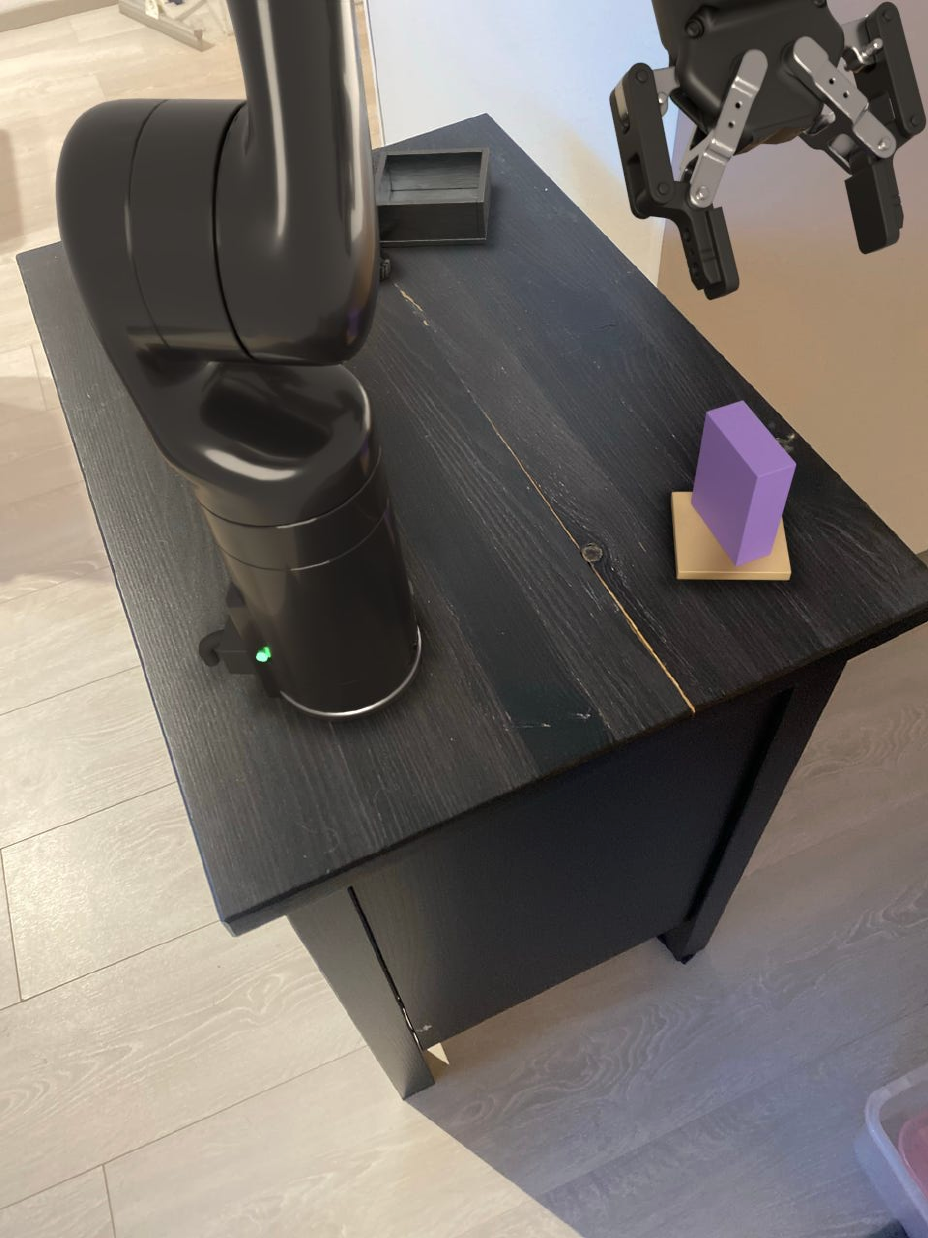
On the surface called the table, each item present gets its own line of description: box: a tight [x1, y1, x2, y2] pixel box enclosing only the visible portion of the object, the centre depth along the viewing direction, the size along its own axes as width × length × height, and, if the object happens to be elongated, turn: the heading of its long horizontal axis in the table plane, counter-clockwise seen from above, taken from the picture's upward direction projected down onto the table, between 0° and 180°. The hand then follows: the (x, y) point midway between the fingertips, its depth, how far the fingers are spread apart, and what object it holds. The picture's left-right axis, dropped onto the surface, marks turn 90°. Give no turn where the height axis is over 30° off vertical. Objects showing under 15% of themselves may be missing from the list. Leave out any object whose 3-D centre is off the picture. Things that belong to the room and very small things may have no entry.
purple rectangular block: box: [691, 400, 797, 566], centre depth 59 cm, size 2×6×8 cm, turn 20°
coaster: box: [670, 491, 792, 581], centre depth 62 cm, size 7×7×1 cm
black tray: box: [375, 147, 492, 248], centre depth 86 cm, size 10×9×4 cm
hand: (802, 271), depth 45 cm, fingers open, 8 cm apart
